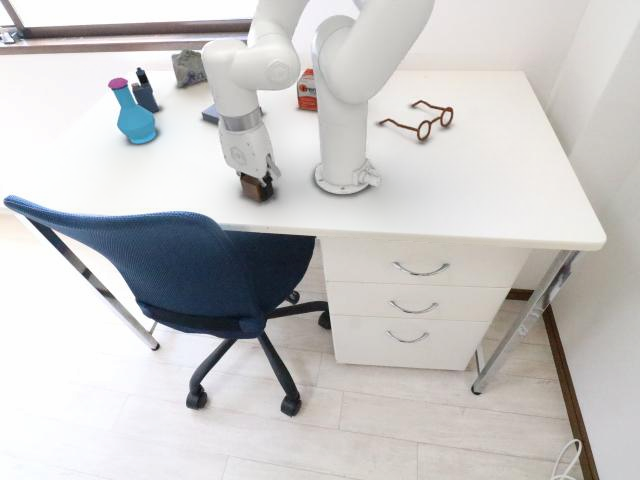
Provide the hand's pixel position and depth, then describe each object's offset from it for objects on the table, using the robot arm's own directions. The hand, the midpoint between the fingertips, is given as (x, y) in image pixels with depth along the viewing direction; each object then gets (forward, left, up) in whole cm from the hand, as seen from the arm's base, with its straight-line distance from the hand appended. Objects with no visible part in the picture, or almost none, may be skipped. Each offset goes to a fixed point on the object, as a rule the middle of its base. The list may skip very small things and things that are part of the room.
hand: (258, 191), depth 80 cm
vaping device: (+51, -12, -1) cm, 52 cm away
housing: (+27, -21, 0) cm, 34 cm away
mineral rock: (+52, -32, -1) cm, 61 cm away
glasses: (-18, -41, -1) cm, 45 cm away
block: (0, 0, 0) cm, 0 cm away
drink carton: (+7, -39, -1) cm, 39 cm away
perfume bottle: (+42, -2, -1) cm, 42 cm away
